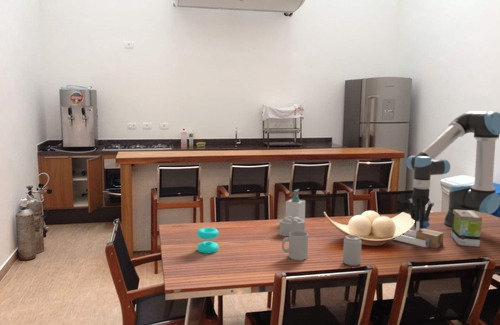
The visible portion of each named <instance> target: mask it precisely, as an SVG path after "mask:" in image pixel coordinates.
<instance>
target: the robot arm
mask: <svg viewBox="0 0 500 325" xmlns="http://www.w3.org/2000/svg"><path fill="white" fill-rule="evenodd" d="M469 133H472V134H473V138H475V140H476V147H475V148H476V151H475V152H476V153H475V166H474V167H475V168H474V170H475V171H474V184H473V185H472V184H452V185H451V186H450V187H449V191H448V193H449V195H448V209H447V212H446V214H445V217H444V219H443V220H444V221H443V223H444V225H447V226H449V227H452V217H453V210H471V211H474V212H478V213H481V214H486V215H490V214H493V213H495V212H496V210H497V209H498V208H499V207H500V194H498V193H496V191H497V190H496V187H495V186H494V185H493V184H494V183H493V182H494V171H495V170H494V168H495V166H494V165H495V152H496V141H497V140H498V139H499V138H500V112H498V111H491V110H490V111H488V110H487V111H485V110H484V111H483V110H481V111H480V110H470V111H466V112H464V113H462V114H460V115H459V116H458V117H456V118H455V119H453V120H452V121H451V122H450V123H448V127H447V128H446V129H444V131H443V132H441V133H439V135H437V136H436V138H434V139H433V140H432V141H431V142H430V143H429V144H428V145H427V146H425V147H424V148H423V149H422V150H421V151H419V152H418V153H417V155H410V156H408V157H407V159H406V163H405V164H406V166H407V168H408V169H409V170H412V171H414V173H413V184H412V185H413V188H412V195H411V198H409V199H407V200H406V201H407V203H408V207H409V212H410V219H412V220H415V225H414V224H413V227H414V226H415V227H416V230H415V231H416V232H417V231H419V230H421V228H423V222H425V221H427V220H428V217H429V218H430V214H431V210H432V208H433V206H434V205H435V203H434V202H432V201H430V198H429V197H430V187H431V177H432V176H437V175H438V176H439V175H440V176H441V175H445V174H448V173H449V172H450V171H451V163H450V161H448V159H445V158H444V159H443V158H440V159H436V158H437V157H438V156H440V155H441V154H442V153H443V152H444V151H445V150H446V149H448V147H449V146H451V145H452V144H453V143H454V142H455V141H456V140H457V139H458V138H461V137H463V136H464V135H466V134H469ZM425 209H426V210H425ZM419 211H420V221H418V220H419ZM424 212H426V213H425V216H424Z"/></svg>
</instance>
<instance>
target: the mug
mask: <svg viewBox="0 0 500 325" xmlns="http://www.w3.org/2000/svg"><path fill="white" fill-rule="evenodd" d="M286 242H288V248H285V243H286ZM308 249H309V233H308V232H306V231H305V232H304V231H292V232H290V233H289V237H284V238H283V239H282V241H281V250H282V251H283V253H287V254H288V257H289V259H290V258H291V259H290V260H293V259H294V260H293V261H305V260H307V259H308V257H309V254H308V253H309V251H308ZM304 259H305V260H304Z"/></svg>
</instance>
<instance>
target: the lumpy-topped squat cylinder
mask: <svg viewBox="0 0 500 325" xmlns="http://www.w3.org/2000/svg"><path fill="white" fill-rule="evenodd" d="M292 231H304V232H306V220H305V221H304V220H302V219H300V218H299V217H293V218H292V217H291V216H288V217H286V218H285V217H283V218H282V219H280V220H279V236H281V235H282V237H286V236H289V233H290V232H292Z"/></svg>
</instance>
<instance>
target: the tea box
mask: <svg viewBox="0 0 500 325" xmlns="http://www.w3.org/2000/svg"><path fill="white" fill-rule="evenodd" d="M482 224H483V217H482V216H481V215H479V214H478V213H476V211H473V210H453V217H452V226H451V229H450V230H451V231H450V232H451V233H450V237H451V238H452V239H453V240H454V241H455V243H456V244H457V245H458V246H465V247H466V246H467V247H480V243H481V232H482Z"/></svg>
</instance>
